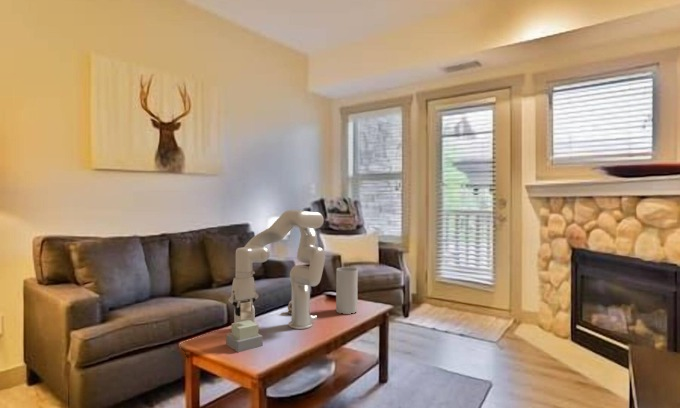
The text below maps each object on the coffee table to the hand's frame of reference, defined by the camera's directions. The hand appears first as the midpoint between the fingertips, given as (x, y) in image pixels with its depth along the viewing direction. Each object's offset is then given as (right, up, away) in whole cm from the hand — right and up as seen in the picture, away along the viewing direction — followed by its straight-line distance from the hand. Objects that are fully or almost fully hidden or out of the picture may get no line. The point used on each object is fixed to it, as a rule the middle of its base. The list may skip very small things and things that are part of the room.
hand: (243, 313), depth 190 cm
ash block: (0, -2, 0) cm, 2 cm away
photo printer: (-5, -14, +23) cm, 27 cm away
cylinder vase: (+48, -13, +55) cm, 74 cm away
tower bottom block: (0, -15, 0) cm, 15 cm away
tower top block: (+1, -10, 0) cm, 10 cm away
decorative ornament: (+18, -13, +50) cm, 55 cm away
